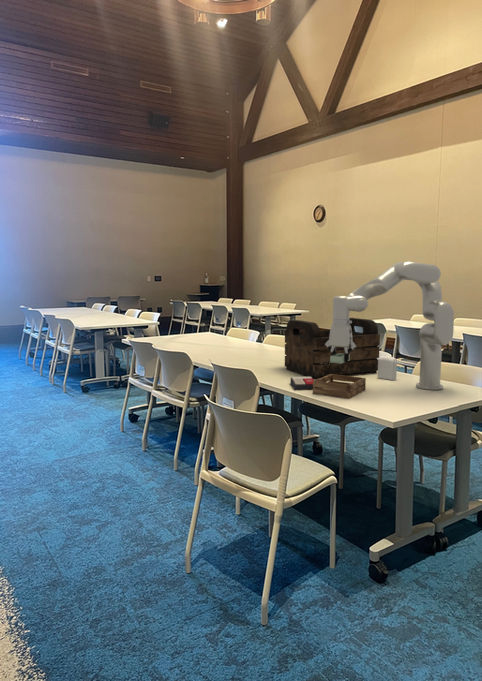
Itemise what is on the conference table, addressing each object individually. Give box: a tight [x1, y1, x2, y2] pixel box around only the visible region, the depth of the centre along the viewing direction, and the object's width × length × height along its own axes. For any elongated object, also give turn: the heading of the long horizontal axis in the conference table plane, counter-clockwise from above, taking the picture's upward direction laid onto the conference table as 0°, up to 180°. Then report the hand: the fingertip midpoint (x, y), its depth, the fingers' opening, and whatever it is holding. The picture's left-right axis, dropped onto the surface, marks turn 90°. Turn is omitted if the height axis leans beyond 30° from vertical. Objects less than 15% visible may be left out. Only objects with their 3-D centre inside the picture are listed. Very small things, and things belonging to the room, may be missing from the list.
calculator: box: [290, 376, 315, 391], centre depth 238 cm, size 11×4×15 cm
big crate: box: [312, 374, 367, 400], centre depth 226 cm, size 20×18×6 cm
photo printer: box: [377, 355, 398, 381], centre depth 255 cm, size 10×4×12 cm, turn 39°
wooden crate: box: [284, 317, 381, 380], centre depth 276 cm, size 42×34×30 cm
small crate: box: [330, 353, 350, 364], centre depth 224 cm, size 10×5×3 cm, turn 145°
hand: (340, 360), depth 225 cm, fingers closed on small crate, 5 cm apart
